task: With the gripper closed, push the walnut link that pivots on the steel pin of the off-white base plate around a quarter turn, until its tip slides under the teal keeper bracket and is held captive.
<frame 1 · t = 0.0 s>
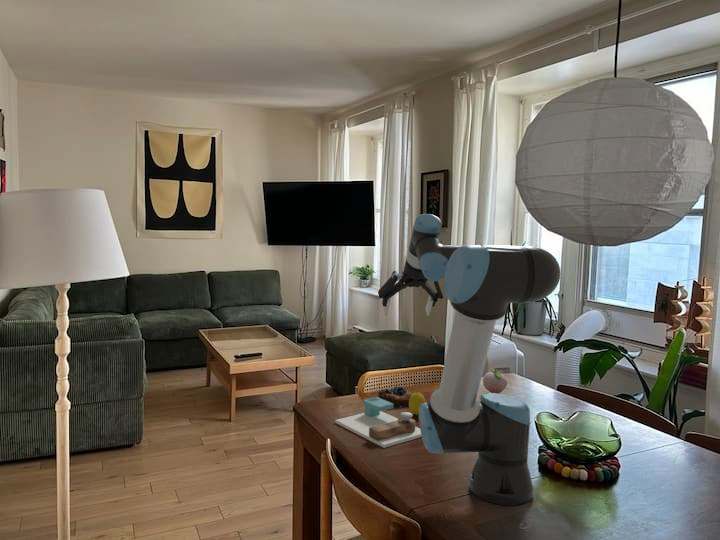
hand: (406, 312, 183), 36 cm above the table, tool tilted 35°, fingers open, 13 cm apart
lemon: (416, 415, 194), on the table
walnut link: (393, 428, 174), point 3 cm above the table, hinge at 90.0°
decorative fruit: (493, 395, 218), on the table
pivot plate: (405, 433, 177), on the table
keeper: (377, 410, 188), resting on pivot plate
pastry: (395, 403, 206), on the table
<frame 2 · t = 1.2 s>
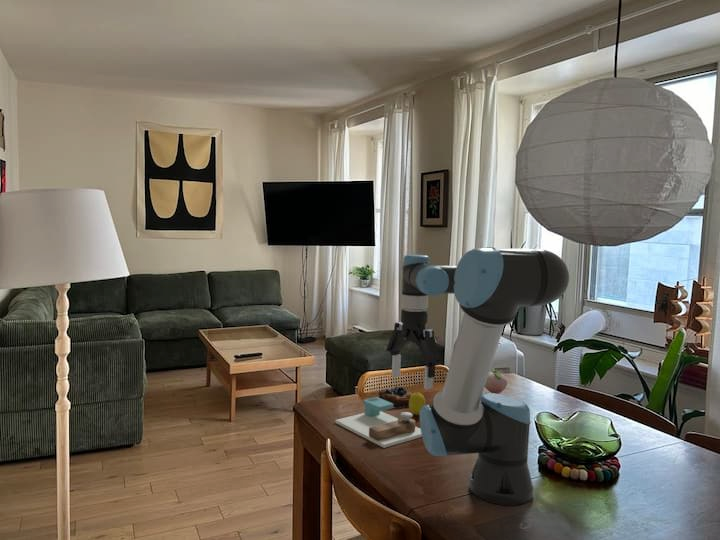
hand: (411, 382, 166), 19 cm above the table, tool pointing down, fingers open, 13 cm apart
nothing on the table moved.
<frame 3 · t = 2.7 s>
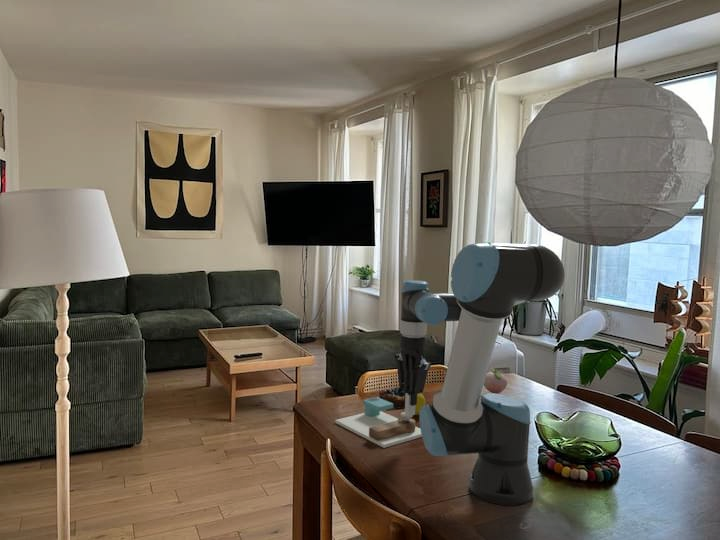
hand: (409, 414, 167), 9 cm above the table, tool pointing down, fingers closed
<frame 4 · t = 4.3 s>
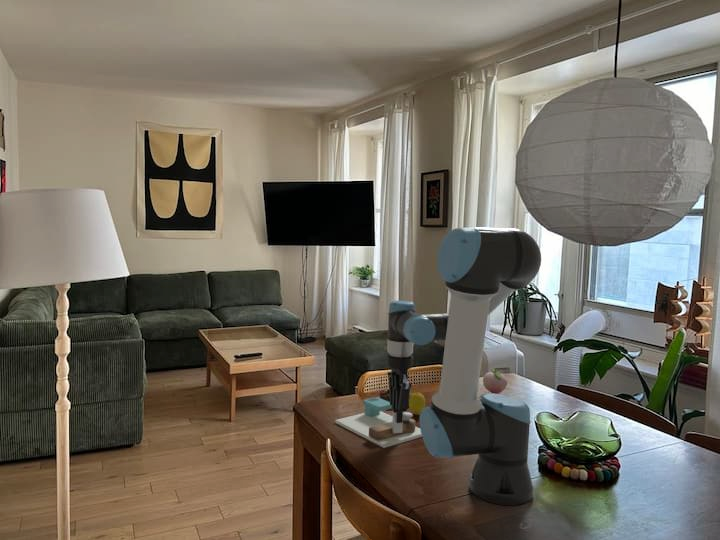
hand: (397, 431, 171), 3 cm above the table, tool pointing down, fingers closed
walnut link: (393, 428, 174), point 3 cm above the table, hinge at 89.5°, touching gripper
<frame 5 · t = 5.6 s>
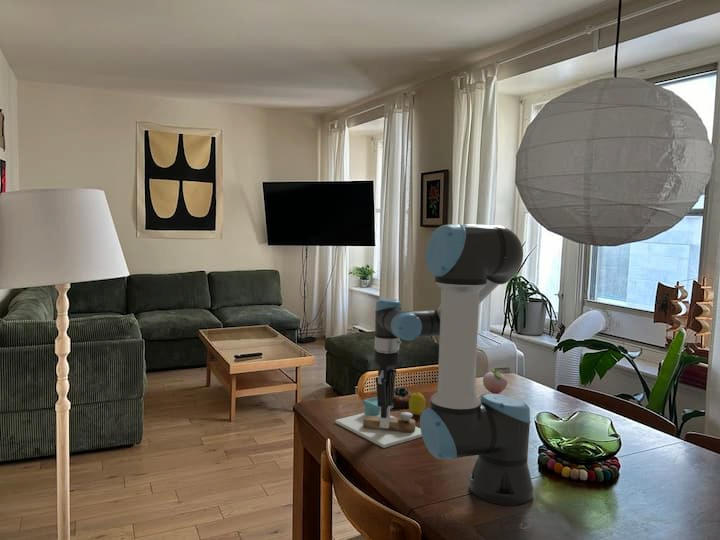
hand: (384, 427, 175), 2 cm above the table, tool pointing down, fingers closed
walnut link: (389, 423, 178), point 3 cm above the table, hinge at 42.5°, touching gripper
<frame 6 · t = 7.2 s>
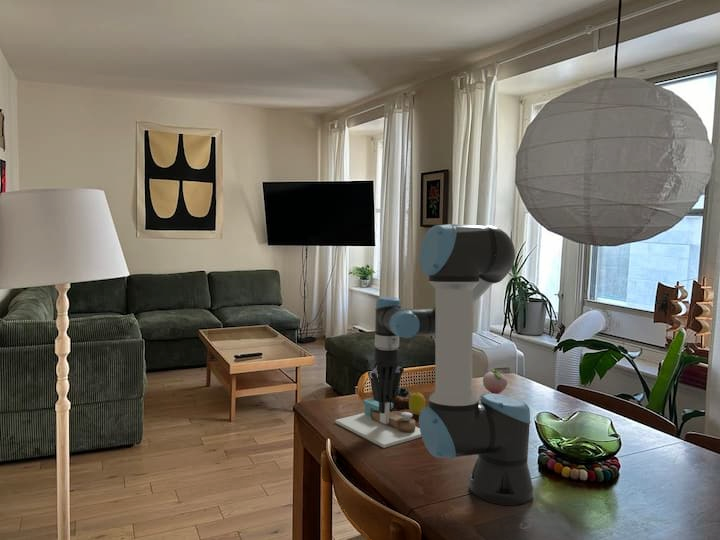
hand: (384, 422, 179), 2 cm above the table, tool pointing down, fingers closed
walnut link: (393, 420, 180), point 3 cm above the table, hinge at 6.3°
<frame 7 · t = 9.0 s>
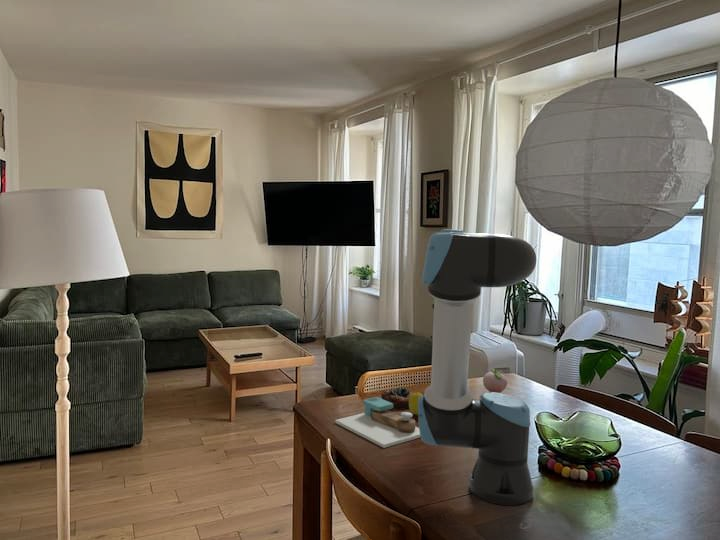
hand: (447, 356, 177), 24 cm above the table, tool pointing down, fingers closed
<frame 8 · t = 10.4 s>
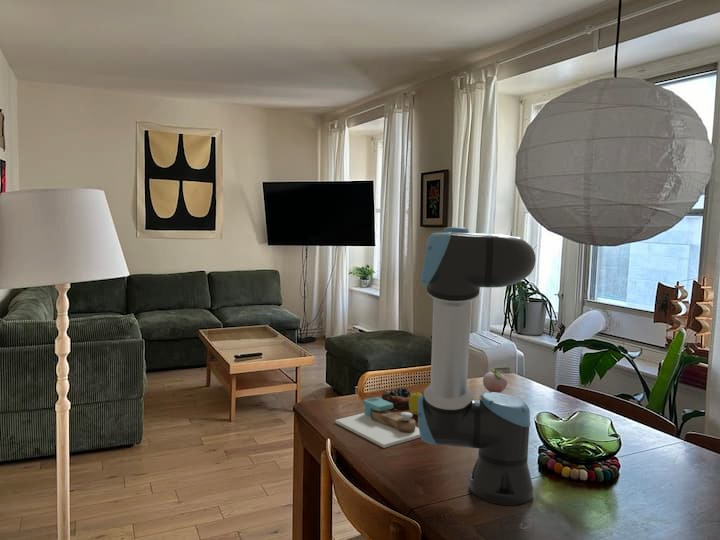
hand: (450, 354, 177), 24 cm above the table, tool pointing down, fingers closed
at the end: walnut link at +6° (first picture: +90°); lemon moved 0.2 cm from its start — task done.
